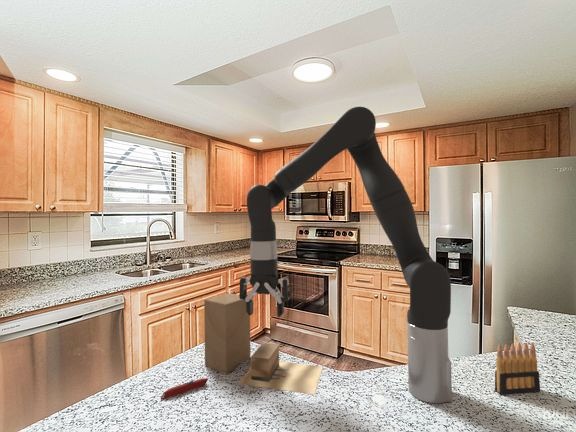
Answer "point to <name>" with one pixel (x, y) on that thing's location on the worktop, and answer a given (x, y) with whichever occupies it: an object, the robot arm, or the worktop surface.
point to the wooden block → (226, 332)
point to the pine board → (289, 378)
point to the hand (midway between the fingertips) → (265, 315)
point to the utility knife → (184, 388)
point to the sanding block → (265, 362)
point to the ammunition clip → (516, 370)
